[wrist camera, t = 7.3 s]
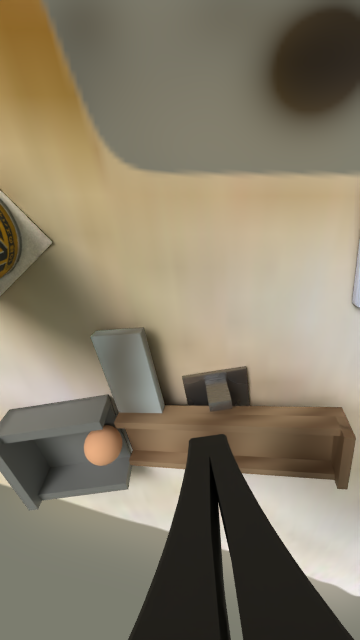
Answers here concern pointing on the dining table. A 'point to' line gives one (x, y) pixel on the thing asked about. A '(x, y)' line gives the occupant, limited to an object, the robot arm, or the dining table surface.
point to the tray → (59, 451)
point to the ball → (103, 445)
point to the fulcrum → (218, 389)
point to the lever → (219, 421)
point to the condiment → (17, 242)
